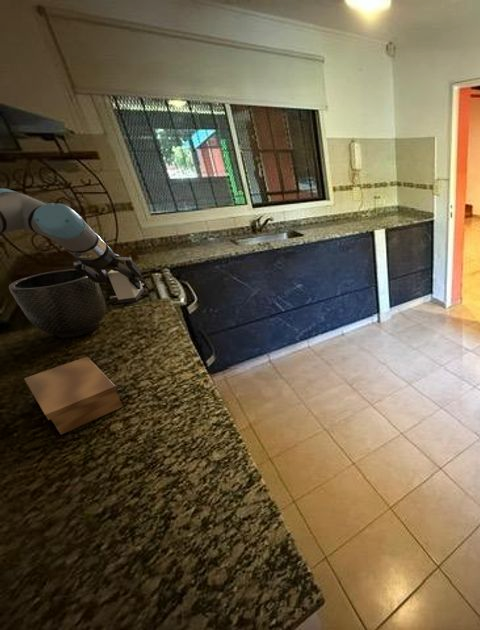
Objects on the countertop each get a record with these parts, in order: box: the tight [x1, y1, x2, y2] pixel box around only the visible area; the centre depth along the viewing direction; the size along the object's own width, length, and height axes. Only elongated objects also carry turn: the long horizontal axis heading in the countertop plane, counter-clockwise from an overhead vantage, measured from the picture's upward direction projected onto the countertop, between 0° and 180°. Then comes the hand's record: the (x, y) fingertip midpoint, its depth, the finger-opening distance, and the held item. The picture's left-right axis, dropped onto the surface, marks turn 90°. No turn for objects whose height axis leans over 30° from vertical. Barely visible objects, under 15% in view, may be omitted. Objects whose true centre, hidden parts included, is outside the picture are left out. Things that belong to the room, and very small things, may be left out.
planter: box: [8, 268, 107, 339], centre depth 114 cm, size 20×20×19 cm
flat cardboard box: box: [23, 356, 124, 435], centre depth 83 cm, size 12×22×6 cm, turn 54°
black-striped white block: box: [106, 269, 145, 304], centre depth 112 cm, size 10×5×10 cm, turn 24°
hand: (129, 286), depth 114 cm, fingers closed on black-striped white block, 4 cm apart
